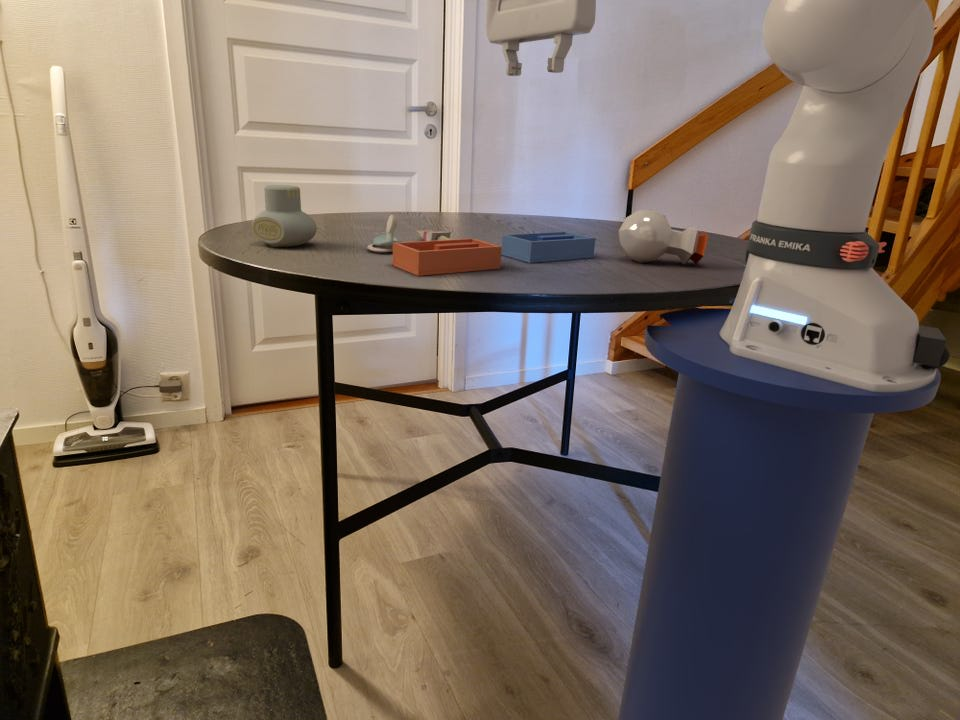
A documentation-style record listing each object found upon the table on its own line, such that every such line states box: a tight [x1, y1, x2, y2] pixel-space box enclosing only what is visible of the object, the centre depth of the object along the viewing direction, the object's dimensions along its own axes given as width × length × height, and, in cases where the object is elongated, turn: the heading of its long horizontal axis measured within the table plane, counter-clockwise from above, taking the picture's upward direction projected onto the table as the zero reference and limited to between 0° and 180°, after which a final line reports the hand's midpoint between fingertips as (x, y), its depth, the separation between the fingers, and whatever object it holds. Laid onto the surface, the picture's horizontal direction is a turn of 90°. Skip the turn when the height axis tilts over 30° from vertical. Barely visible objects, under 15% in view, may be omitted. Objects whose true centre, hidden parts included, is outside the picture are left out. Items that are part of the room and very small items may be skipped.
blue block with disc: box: [537, 234, 574, 241], centre depth 112 cm, size 11×4×3 cm, turn 125°
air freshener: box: [250, 184, 318, 248], centre depth 108 cm, size 11×8×10 cm
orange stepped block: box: [434, 242, 479, 250], centre depth 98 cm, size 11×4×3 cm, turn 125°
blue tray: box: [501, 230, 596, 264], centre depth 112 cm, size 8×15×4 cm, turn 125°
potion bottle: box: [618, 208, 709, 266], centre depth 111 cm, size 9×10×15 cm
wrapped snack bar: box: [415, 229, 452, 241], centre depth 115 cm, size 4×3×20 cm
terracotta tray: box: [392, 238, 502, 277], centre depth 98 cm, size 8×15×4 cm, turn 125°
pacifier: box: [366, 214, 403, 253], centre depth 108 cm, size 7×6×6 cm
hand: (533, 74), depth 89 cm, fingers open, 8 cm apart
